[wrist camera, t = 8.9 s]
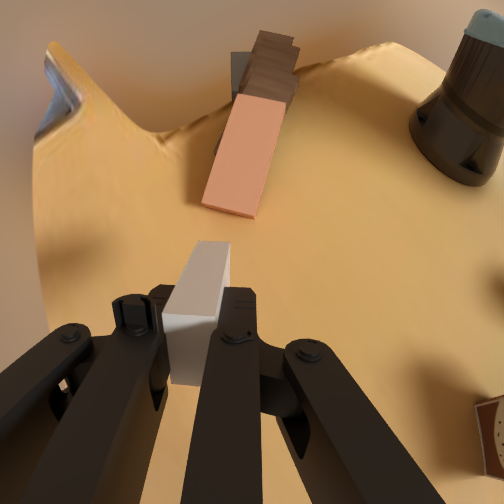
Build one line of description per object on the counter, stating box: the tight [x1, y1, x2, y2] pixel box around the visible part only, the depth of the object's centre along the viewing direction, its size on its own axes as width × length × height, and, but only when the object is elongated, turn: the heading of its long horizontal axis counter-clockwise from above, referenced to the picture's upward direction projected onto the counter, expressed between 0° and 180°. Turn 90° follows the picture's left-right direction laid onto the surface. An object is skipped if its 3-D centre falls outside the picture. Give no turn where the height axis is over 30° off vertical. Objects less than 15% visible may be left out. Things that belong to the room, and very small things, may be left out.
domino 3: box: [231, 52, 251, 100], centre depth 40 cm, size 2×5×12 cm
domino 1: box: [239, 30, 294, 93], centre depth 37 cm, size 2×5×12 cm
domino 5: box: [201, 94, 286, 219], centre depth 29 cm, size 2×5×12 cm
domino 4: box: [214, 64, 299, 156], centre depth 31 cm, size 2×5×12 cm
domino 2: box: [239, 38, 300, 94], centre depth 34 cm, size 2×5×12 cm
